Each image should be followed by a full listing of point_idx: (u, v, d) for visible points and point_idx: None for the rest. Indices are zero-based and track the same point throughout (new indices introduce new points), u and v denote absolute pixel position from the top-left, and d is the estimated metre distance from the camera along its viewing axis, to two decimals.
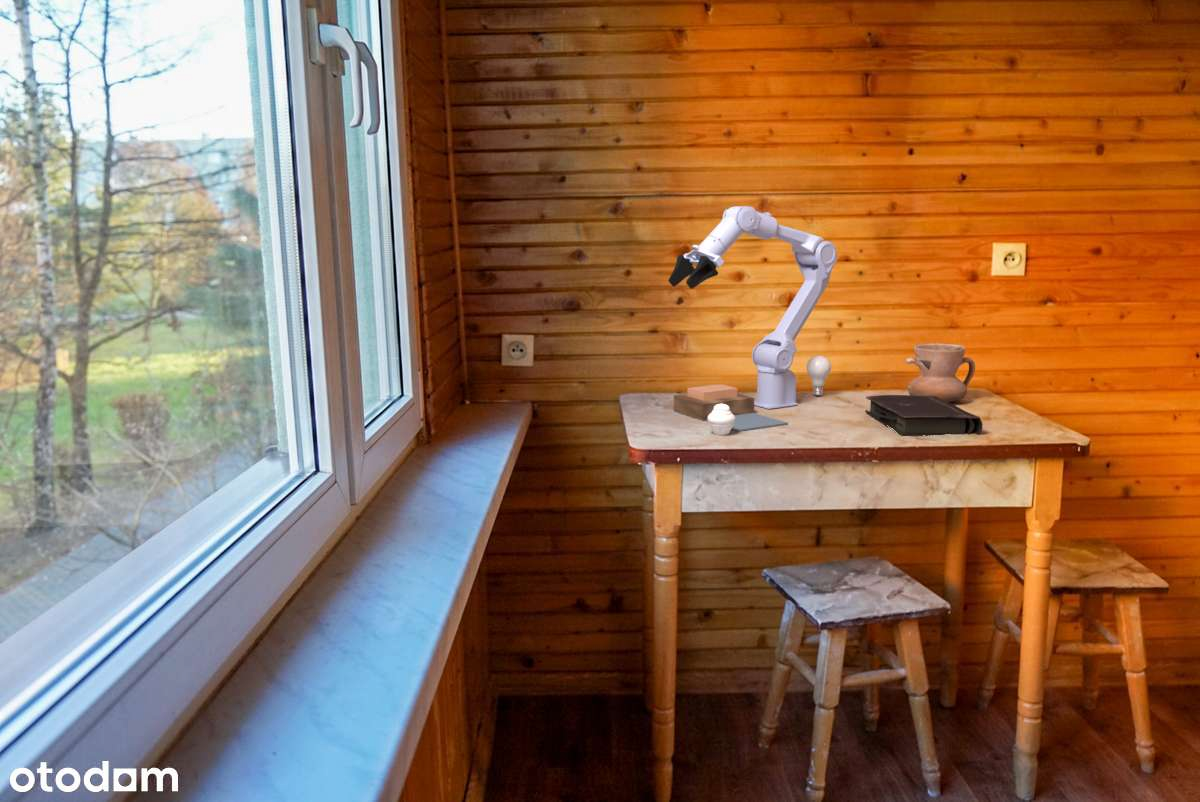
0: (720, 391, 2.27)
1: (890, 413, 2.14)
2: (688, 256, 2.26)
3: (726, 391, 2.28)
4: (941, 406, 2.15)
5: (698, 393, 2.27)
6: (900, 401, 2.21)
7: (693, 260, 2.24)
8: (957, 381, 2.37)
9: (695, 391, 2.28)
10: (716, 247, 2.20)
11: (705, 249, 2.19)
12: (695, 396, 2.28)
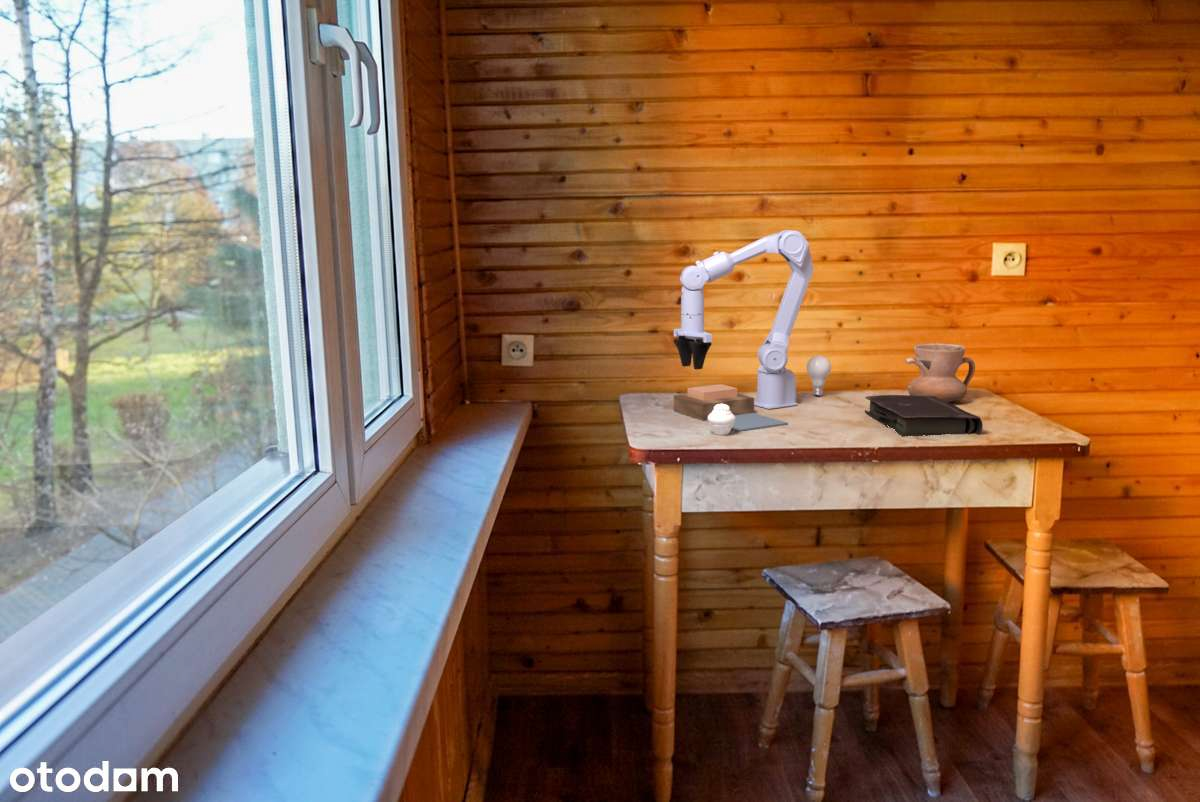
0: (720, 391, 2.27)
1: (890, 413, 2.13)
2: None
3: (726, 391, 2.28)
4: (941, 406, 2.15)
5: (698, 393, 2.27)
6: (900, 401, 2.21)
7: (685, 336, 2.38)
8: (957, 381, 2.37)
9: (695, 391, 2.28)
10: (695, 322, 2.32)
11: (689, 330, 2.33)
12: (695, 396, 2.28)
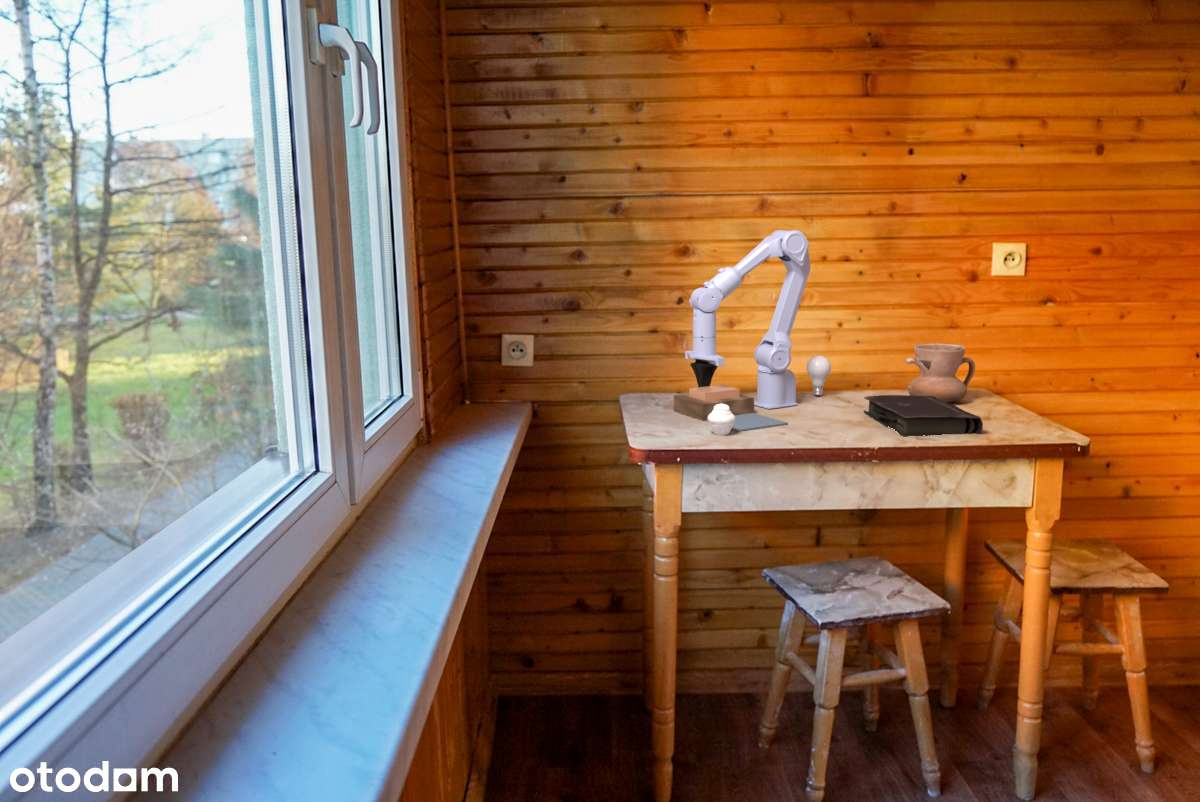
0: (722, 392, 2.27)
1: (890, 413, 2.13)
2: None
3: (728, 392, 2.27)
4: (940, 406, 2.16)
5: (700, 393, 2.26)
6: (899, 401, 2.21)
7: (697, 359, 2.34)
8: (957, 381, 2.37)
9: (697, 392, 2.27)
10: (708, 344, 2.29)
11: (701, 353, 2.29)
12: (697, 397, 2.28)
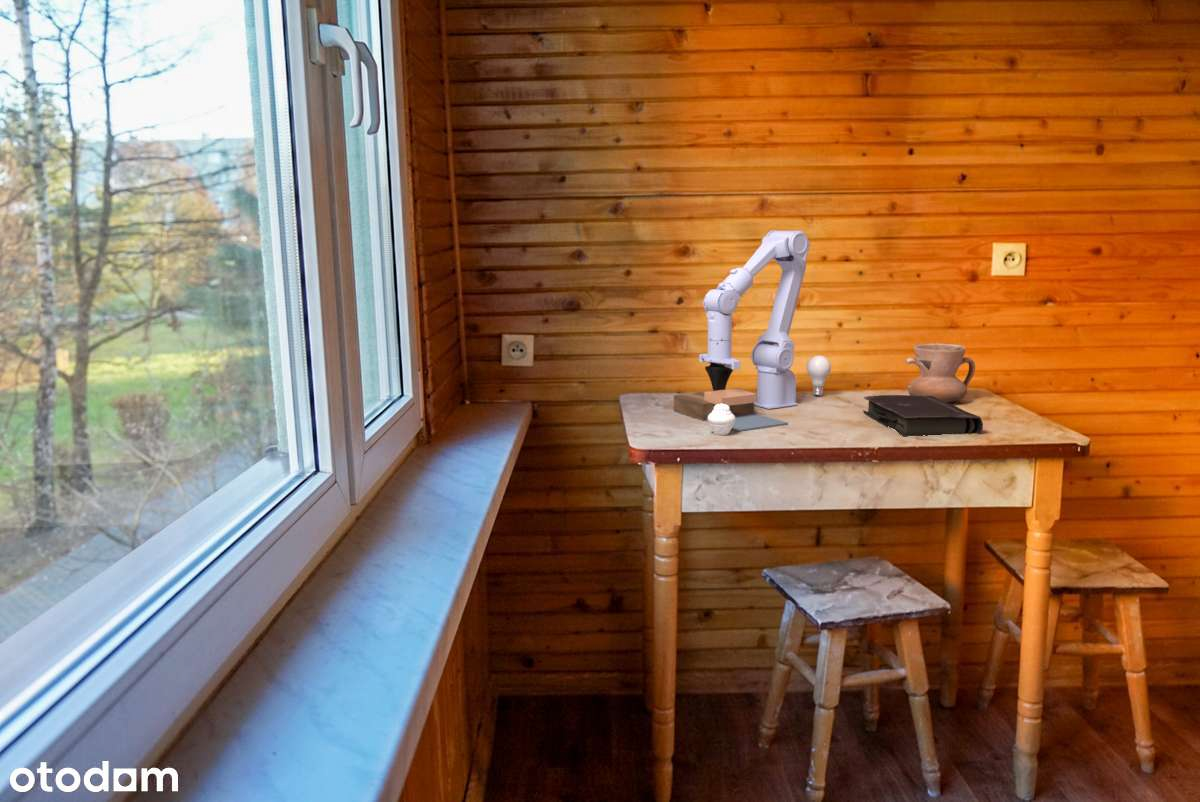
0: (738, 397, 2.21)
1: (890, 413, 2.13)
2: None
3: (744, 397, 2.22)
4: (940, 406, 2.16)
5: (716, 398, 2.21)
6: (899, 401, 2.21)
7: (712, 362, 2.29)
8: (957, 381, 2.37)
9: (713, 396, 2.22)
10: (723, 348, 2.23)
11: (716, 357, 2.24)
12: (712, 401, 2.22)
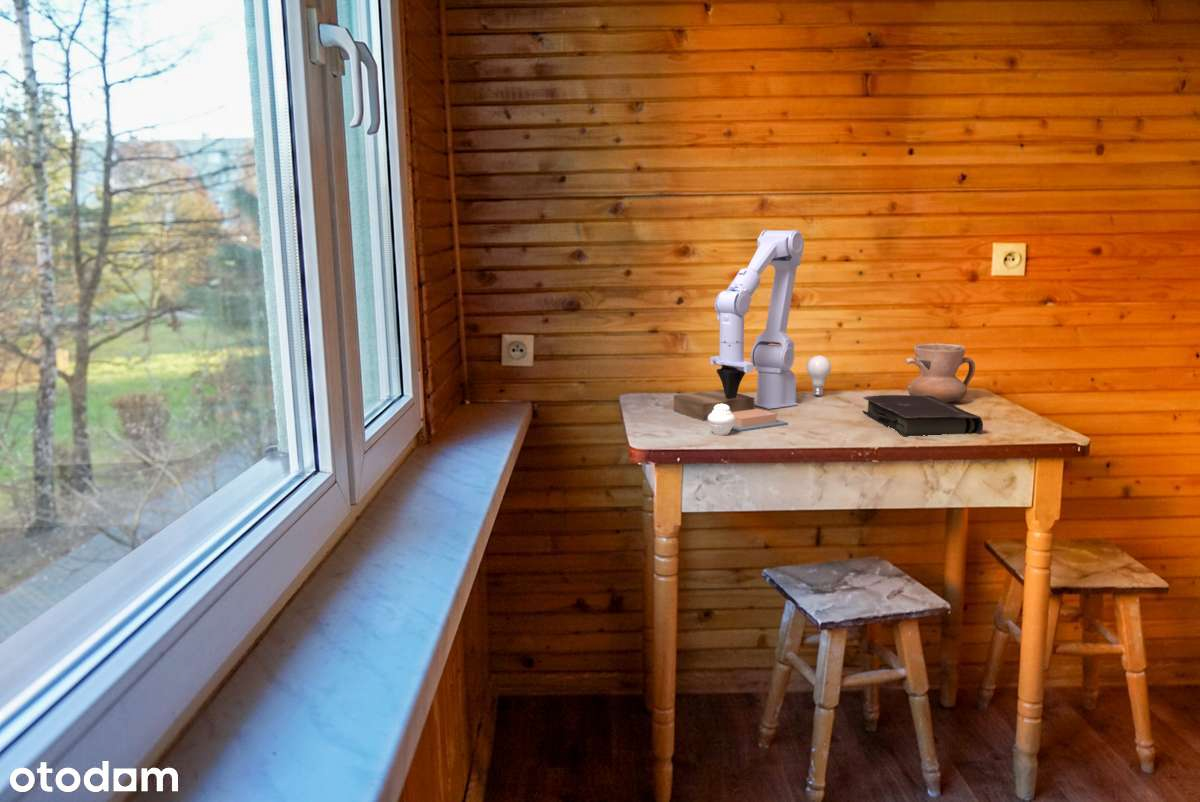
0: None
1: (890, 413, 2.13)
2: None
3: None
4: (940, 406, 2.16)
5: None
6: (898, 401, 2.21)
7: (723, 365, 2.25)
8: (957, 381, 2.37)
9: None
10: (735, 350, 2.19)
11: (729, 359, 2.19)
12: None
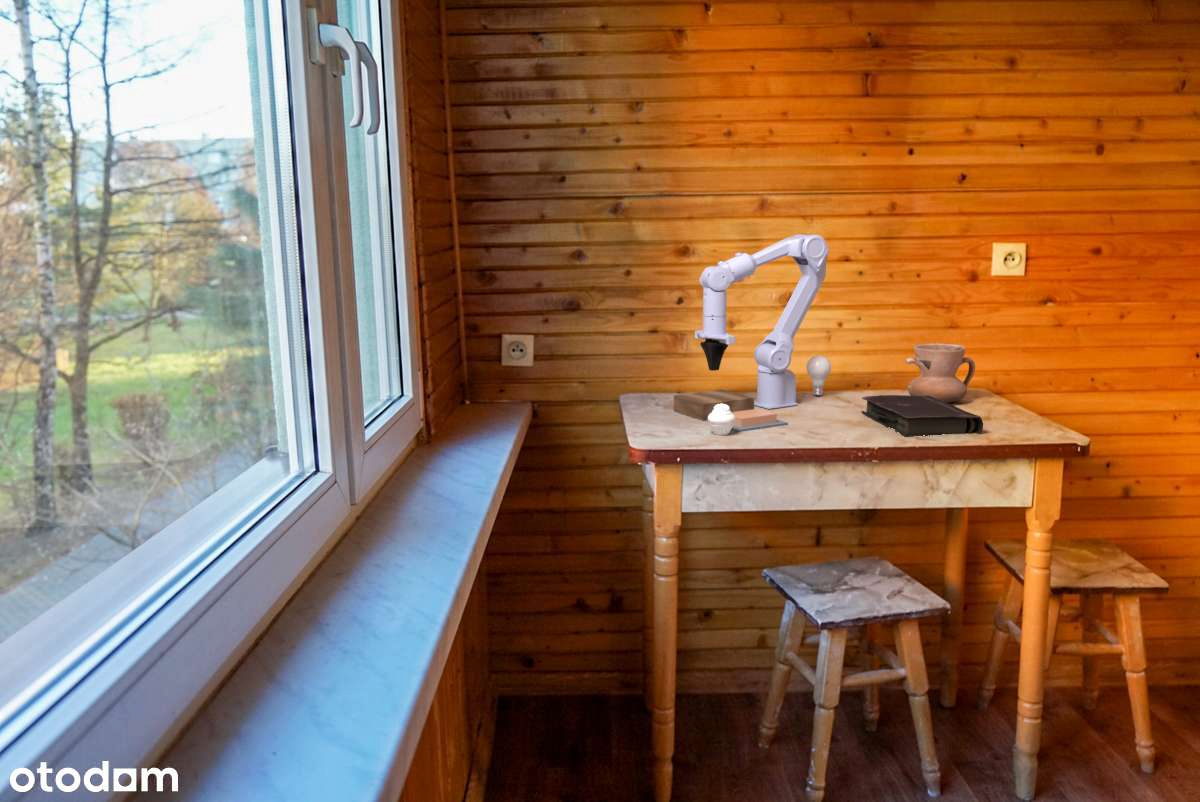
0: None
1: (890, 413, 2.13)
2: None
3: None
4: (939, 406, 2.16)
5: None
6: (897, 401, 2.21)
7: (707, 338, 2.34)
8: (957, 381, 2.37)
9: None
10: (718, 323, 2.28)
11: (712, 332, 2.29)
12: None
